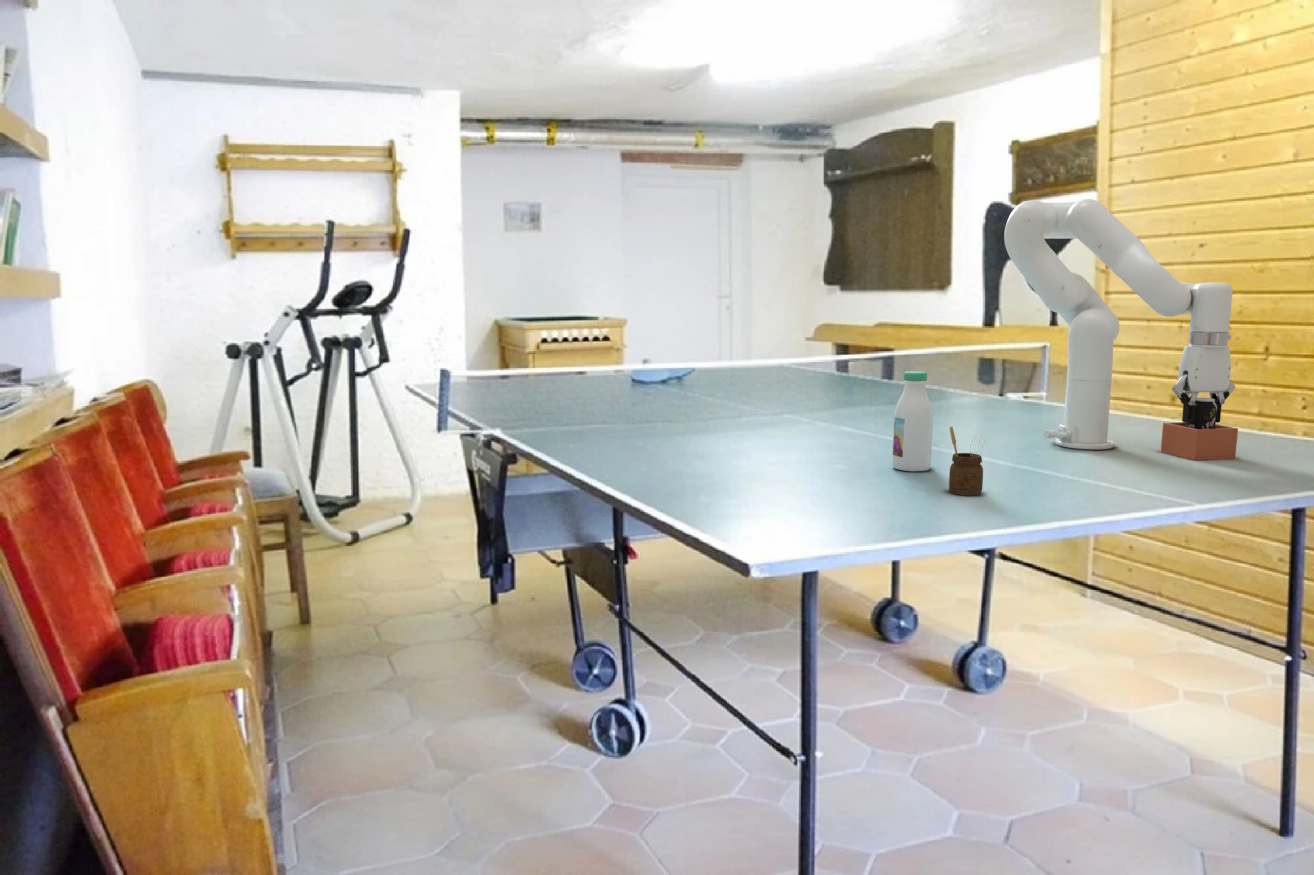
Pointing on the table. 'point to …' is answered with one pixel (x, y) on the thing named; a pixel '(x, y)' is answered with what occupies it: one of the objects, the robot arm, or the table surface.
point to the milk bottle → (913, 425)
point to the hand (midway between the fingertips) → (1200, 421)
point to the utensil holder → (965, 471)
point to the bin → (1199, 441)
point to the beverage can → (1204, 414)
